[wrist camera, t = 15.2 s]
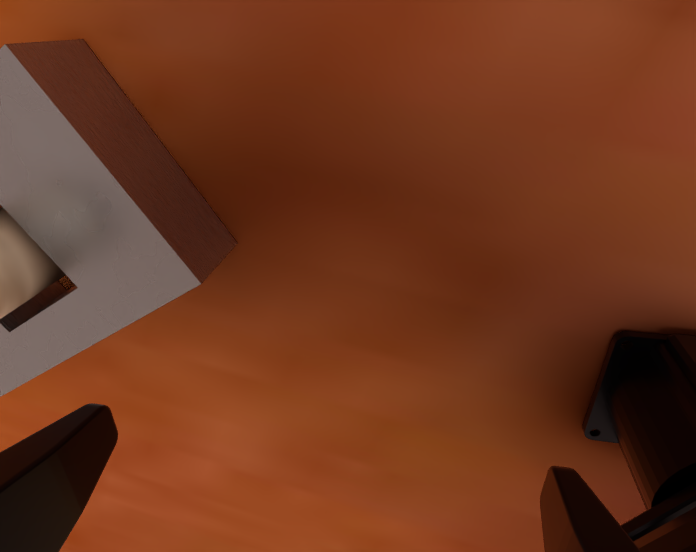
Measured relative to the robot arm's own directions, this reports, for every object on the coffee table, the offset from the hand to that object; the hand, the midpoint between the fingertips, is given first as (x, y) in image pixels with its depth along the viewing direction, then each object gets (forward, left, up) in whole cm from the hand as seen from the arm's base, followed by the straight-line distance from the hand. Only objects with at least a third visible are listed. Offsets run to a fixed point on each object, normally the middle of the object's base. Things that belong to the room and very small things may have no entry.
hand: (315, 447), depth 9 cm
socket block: (-2, +16, -13) cm, 21 cm away
